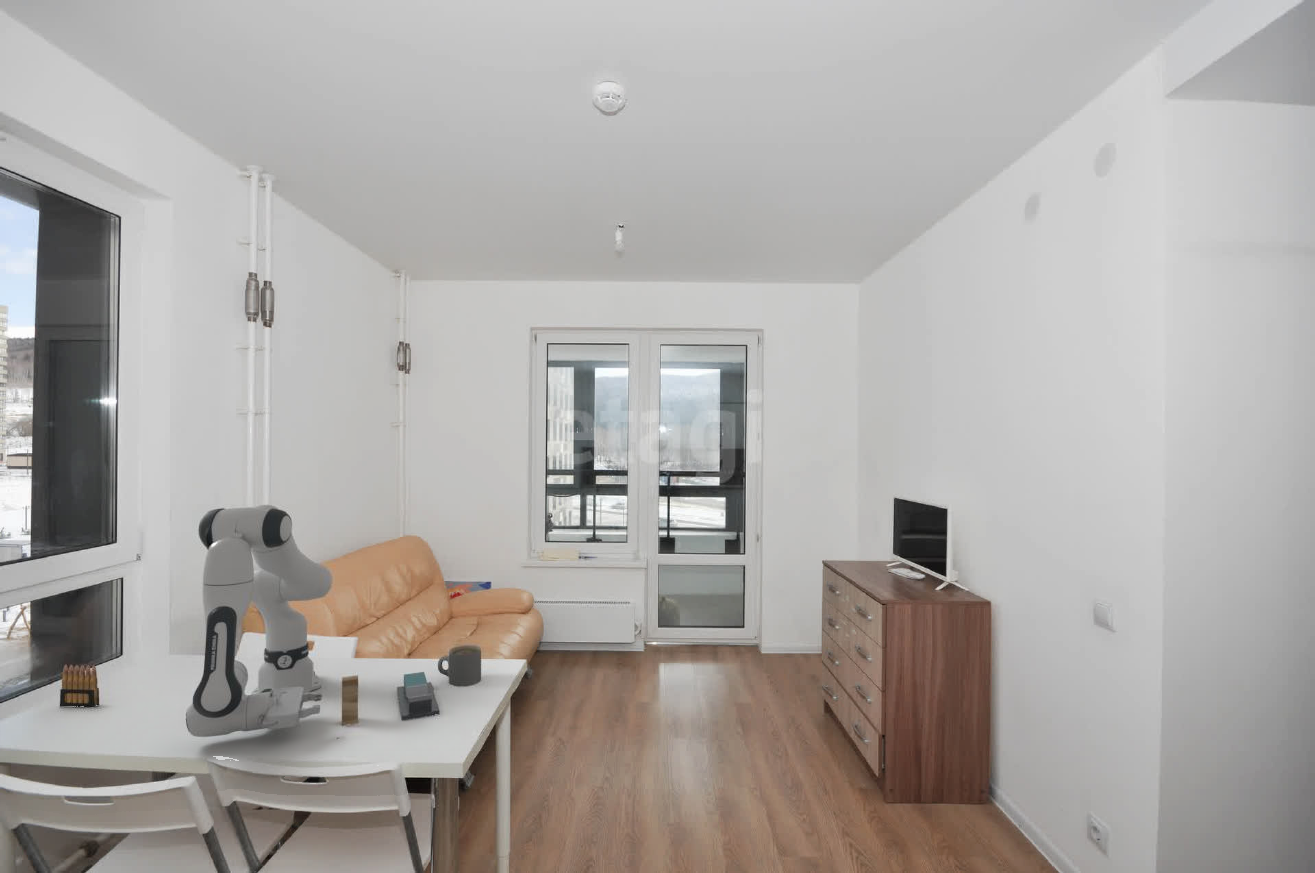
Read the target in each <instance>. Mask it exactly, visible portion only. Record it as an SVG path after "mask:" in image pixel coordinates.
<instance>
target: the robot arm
mask: <svg viewBox="0 0 1315 873" xmlns="http://www.w3.org/2000/svg"><path fill="white" fill-rule="evenodd" d="M292 530H293V522H292V518H291V516H290V515H289V514H288V513H287V512H286V511H285V510H283V509H279V508H278V507H276V506H275V505H272V504H271V505H270V504H261V505H258V506H255V507H247V506H246V507H235V508H233V507H231V508H225V507H221V508H215V509H212V510H209V511H207V512H206V513H205V514H204V515H203V516H201V519H200V521H199V525H198V536H199V539H200V541H201V544H203V546H204V547H206V549H207V553H206V557H205V560H204V567H203V573H202V574H203V575H202V602H203V603H202V604H203V611H204V622H205V646H204V662H203V663H204V664H203V672H202V673H203V674H202V678H201V680H200V682H199V684H198V686H196V689H195V691H194V693H193V696H192V703H191V704H190V705H189V706H188V708H187V709H186V713H185V723H186V728H187V730H188V732H189V734H190V735H191V736H193V737H196V738H197V737H199V738H207V737H217V736H226V735H229V734H232V733H236V732H252V731H258V730H265V729H267V730H279V729H288V728H289V729H290V728H294V727H297V726H298V725H299V723H300V720H301V719H305V718H308V717H310V716H312V715H316V714H317V715H318V714H320V713H321V705H320V704H317V705H316V704H315V705H312V706H310V707H303V705H304V703H307V702H309V701H310V702H311V701H312V702H320V701H322V699H323V693H322V692H312V691H314V690H317V689H321V688H322V684H321V682H320V680H319V678H318V676H317V675H316V672H315V671H314V670H315V669H314V661H313V660H312V659H311V658H309V651H310V647H309V646H310V645H309V643H308V621H307V618H306V616H305V615H304V614H302V613H301V612H299V611H297V610H294V608H292V607H291V605H290V604H289V602H302V601H303V602H305V601H307V602H308V601H312V600H317V599H321V598H324V597H325V596H326V595H327V594H328V593H329V592H330V590H331V589H332V586H333V575H332V573H331V570H329V568H328V567H327V566H324V565H321V564H319V563H317V562H315V561H313V560H311V559H310V558H309V557H307V556H306V555H305V554H304V553H303V552H301V550H300V549H299V547H298V545H297V544H296V541H295V538H294V536H293V533H292ZM253 560H255V563H256V565H257V566H256V567H254V561H253ZM251 604H252V605H253V606H254V607H256V609H257V611H259V613H260V615H261V617H262V619H263V622H264V629H265V632H264V633H265V647H264V650H263V651H264V652H263V660H264V663H263V664H262V665H261V666H260V667H259V668H258V673H257V686H256V688H255V689H254V690H252V692H251V693H250V694H249V695H248V694H246V693H245V692H246V691H245V689H246V686H247V684H248V681H249V673H248V669H247V667H246V665H245V664H243V663H242V662H241V661H239V660H236V647H237V637H238V632H239V629H240V626H241V623H242V622H243V619H244V617H245V615H246V613H247V611H248V609H249V607H250V605H251Z"/></svg>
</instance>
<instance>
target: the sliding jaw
mask: <svg viewBox="0 0 1315 873" xmlns="http://www.w3.org/2000/svg"><path fill="white" fill-rule="evenodd" d="M427 683H428V681H427V677H426V674H425V671H419V672H414V673H413V672H412V673H405V674H403V686H404V688H405V693H406V698H408V697H415V696H421V695H428V684H427Z"/></svg>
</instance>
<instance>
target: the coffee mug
mask: <svg viewBox="0 0 1315 873" xmlns="http://www.w3.org/2000/svg"><path fill="white" fill-rule="evenodd" d="M444 661H445V662H447V664H448V665H447V669H444V667H443V662H444ZM437 669H438V672H439V673H440V674H441V675H444V676H446V677H448V684H449V685H451V686H452V685H453V687H458V688H459V687H462V686H463V687H469V685H470V686H473V685H474V686H475V685H477V684H478V683H480V682H481V681H482V648H481V647H480V646H479V645H472V644H467V645H465V644H464V645H459V646H455V647H452V648H450V649H449V651H448V655H447V654H446V655H443V656H441V657H440V658H439V659H438V662H437Z"/></svg>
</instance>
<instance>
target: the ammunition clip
mask: <svg viewBox="0 0 1315 873" xmlns="http://www.w3.org/2000/svg"><path fill="white" fill-rule="evenodd" d="M63 666H64V667H63V670H62V679H61V688H60V690H59V691H60V693H59V707H60V706H76V707H75V708H81V707H80V706H84V707H83V708H85V707H94V706H96V705H99V706H100V690H99V687H98V674H97V668H96V666H95V665H92V668H91V667H90V665H89V664H88V665H87V666H86V668H85V666H84V665H83V664H81V666H80V667H79V665H78V664H76V665H75V666H73V664H70V666H69V667H68V665H67V664H64V665H63ZM77 706H78V707H77ZM96 707H97V706H96ZM94 708H95V707H94Z"/></svg>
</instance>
